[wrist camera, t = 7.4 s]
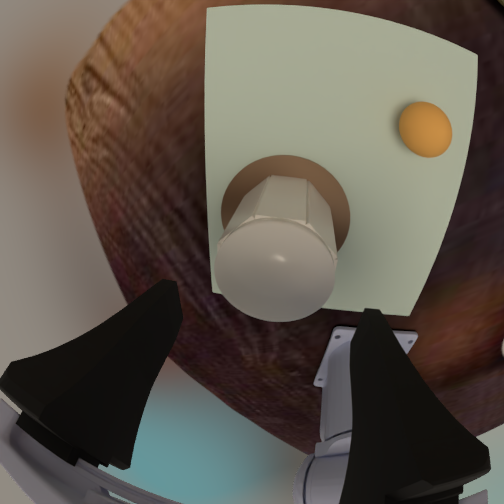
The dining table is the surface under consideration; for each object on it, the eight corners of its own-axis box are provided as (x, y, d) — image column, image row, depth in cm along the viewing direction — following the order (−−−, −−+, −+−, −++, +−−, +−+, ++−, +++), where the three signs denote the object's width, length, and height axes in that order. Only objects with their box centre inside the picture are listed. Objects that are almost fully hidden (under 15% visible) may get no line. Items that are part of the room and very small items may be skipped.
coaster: (336, 277, 19) (336, 280, 18) (223, 262, 20) (222, 265, 20) (360, 164, 14) (361, 166, 14) (221, 150, 15) (220, 151, 15)
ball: (433, 155, 13) (455, 170, 10) (388, 144, 13) (405, 157, 11) (440, 108, 11) (466, 114, 9) (394, 94, 12) (414, 96, 9)
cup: (320, 258, 18) (321, 328, 13) (242, 248, 18) (216, 312, 14) (334, 182, 15) (347, 234, 10) (243, 172, 16) (211, 217, 11)
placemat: (407, 312, 20) (409, 315, 19) (214, 289, 22) (212, 292, 22) (474, 55, 9) (477, 55, 8) (209, 9, 11) (206, 8, 11)
